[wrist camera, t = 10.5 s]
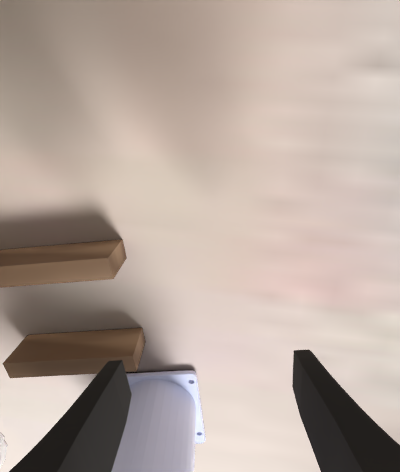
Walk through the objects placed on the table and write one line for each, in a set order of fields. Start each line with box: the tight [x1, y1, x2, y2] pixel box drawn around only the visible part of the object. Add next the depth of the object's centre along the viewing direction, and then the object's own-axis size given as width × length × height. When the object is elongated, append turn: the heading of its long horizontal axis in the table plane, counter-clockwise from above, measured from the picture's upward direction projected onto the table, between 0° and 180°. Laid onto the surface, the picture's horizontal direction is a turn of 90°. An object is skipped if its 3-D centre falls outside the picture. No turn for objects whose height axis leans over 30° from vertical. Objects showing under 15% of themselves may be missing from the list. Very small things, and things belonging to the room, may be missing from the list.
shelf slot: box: [0, 240, 145, 378], centre depth 20 cm, size 10×10×3 cm
